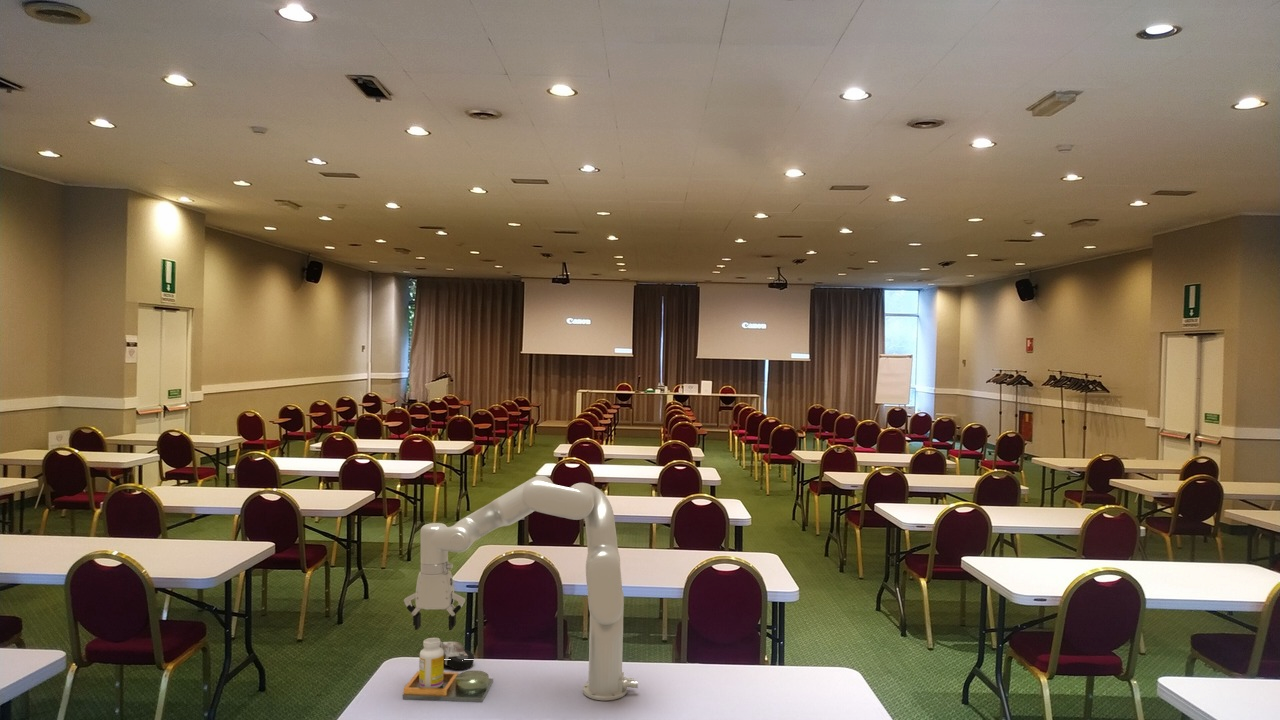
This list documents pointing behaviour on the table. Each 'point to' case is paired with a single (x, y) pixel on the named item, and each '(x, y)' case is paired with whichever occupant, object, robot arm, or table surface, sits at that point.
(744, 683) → the table surface
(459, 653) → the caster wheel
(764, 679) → the table surface
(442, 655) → the supplement bottle
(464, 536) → the robot arm
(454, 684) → the grey base plate
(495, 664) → the table surface
